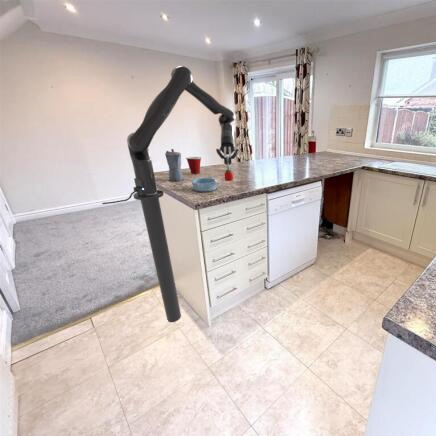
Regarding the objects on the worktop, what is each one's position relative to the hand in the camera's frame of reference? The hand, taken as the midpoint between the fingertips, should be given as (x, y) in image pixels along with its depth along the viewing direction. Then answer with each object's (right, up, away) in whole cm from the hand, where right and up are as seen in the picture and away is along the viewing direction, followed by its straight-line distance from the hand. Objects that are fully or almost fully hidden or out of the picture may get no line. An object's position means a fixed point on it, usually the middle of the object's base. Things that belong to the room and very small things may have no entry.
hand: (227, 164), depth 141 cm
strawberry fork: (-1, -8, +6) cm, 10 cm away
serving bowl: (-15, -14, +6) cm, 21 cm away
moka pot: (-41, -6, +23) cm, 47 cm away
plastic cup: (-34, +2, +40) cm, 53 cm away
